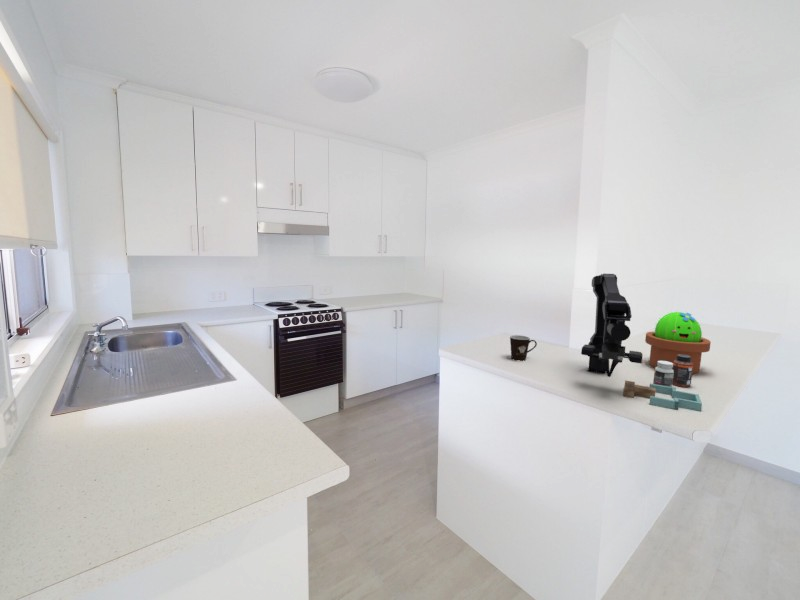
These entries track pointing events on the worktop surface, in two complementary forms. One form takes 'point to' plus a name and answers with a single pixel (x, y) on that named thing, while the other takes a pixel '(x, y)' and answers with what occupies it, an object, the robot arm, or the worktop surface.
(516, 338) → the coffee mug
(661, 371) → the pill bottle
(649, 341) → the potted cactus
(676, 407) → the teal angular frame
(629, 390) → the t block
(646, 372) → the worktop surface
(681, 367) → the supplement bottle
